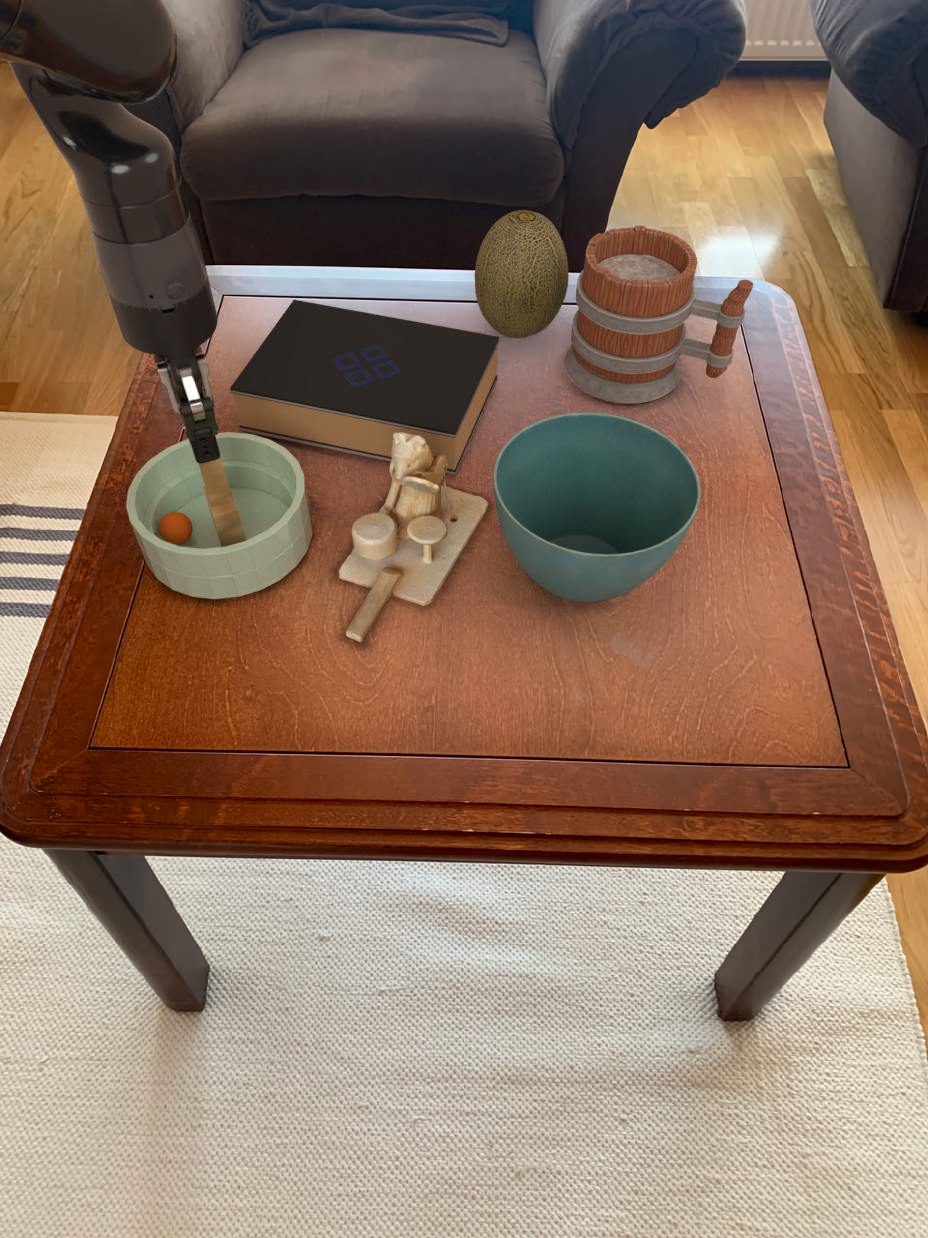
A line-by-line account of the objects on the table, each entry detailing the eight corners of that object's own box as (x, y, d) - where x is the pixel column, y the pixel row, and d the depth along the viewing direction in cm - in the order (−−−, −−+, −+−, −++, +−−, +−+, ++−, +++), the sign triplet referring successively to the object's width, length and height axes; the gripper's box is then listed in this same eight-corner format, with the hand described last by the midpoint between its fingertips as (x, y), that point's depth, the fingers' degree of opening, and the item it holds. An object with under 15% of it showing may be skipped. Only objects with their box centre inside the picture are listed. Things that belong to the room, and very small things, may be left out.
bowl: (164, 625, 86) (144, 575, 80) (132, 508, 95) (112, 457, 90) (334, 574, 90) (326, 524, 84) (287, 467, 99) (277, 415, 94)
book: (301, 347, 113) (293, 298, 108) (497, 384, 109) (499, 335, 103) (240, 436, 102) (229, 387, 97) (455, 481, 98) (455, 433, 93)
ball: (189, 553, 91) (157, 548, 91) (198, 529, 93) (167, 524, 93) (184, 531, 88) (151, 526, 88) (194, 507, 90) (162, 502, 90)
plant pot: (667, 509, 96) (691, 416, 86) (682, 649, 84) (711, 560, 75) (493, 500, 96) (497, 407, 87) (485, 638, 85) (488, 548, 75)
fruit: (567, 356, 112) (580, 240, 100) (475, 357, 112) (477, 241, 100) (557, 303, 119) (569, 189, 107) (471, 304, 119) (473, 189, 107)
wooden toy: (406, 475, 99) (400, 370, 88) (493, 505, 96) (498, 399, 85) (298, 621, 86) (276, 518, 76) (395, 659, 84) (387, 559, 73)
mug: (583, 325, 116) (598, 209, 104) (734, 361, 112) (768, 245, 100) (547, 389, 108) (559, 272, 96) (709, 431, 104) (741, 313, 92)
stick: (223, 552, 90) (185, 424, 78) (213, 521, 93) (174, 393, 80) (247, 545, 91) (213, 417, 78) (236, 515, 93) (201, 386, 81)
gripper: (91, 240, 73) (149, 414, 86) (121, 336, 65) (179, 511, 78) (186, 222, 75) (228, 395, 88) (226, 313, 67) (265, 488, 80)
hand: (205, 449), depth 83 cm, fingers closed on stick, 2 cm apart
